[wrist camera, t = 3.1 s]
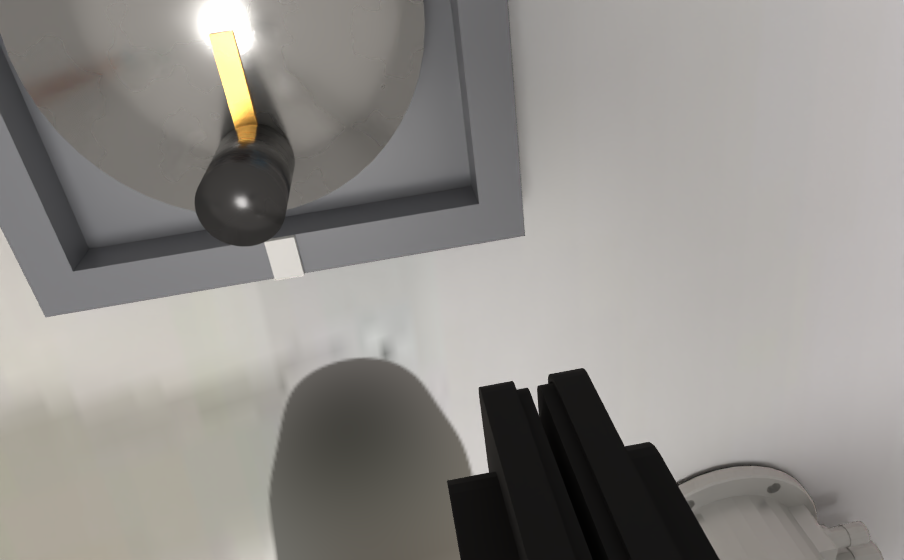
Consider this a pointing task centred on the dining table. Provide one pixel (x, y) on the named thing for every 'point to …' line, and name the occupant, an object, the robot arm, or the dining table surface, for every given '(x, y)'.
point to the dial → (221, 95)
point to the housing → (305, 227)
